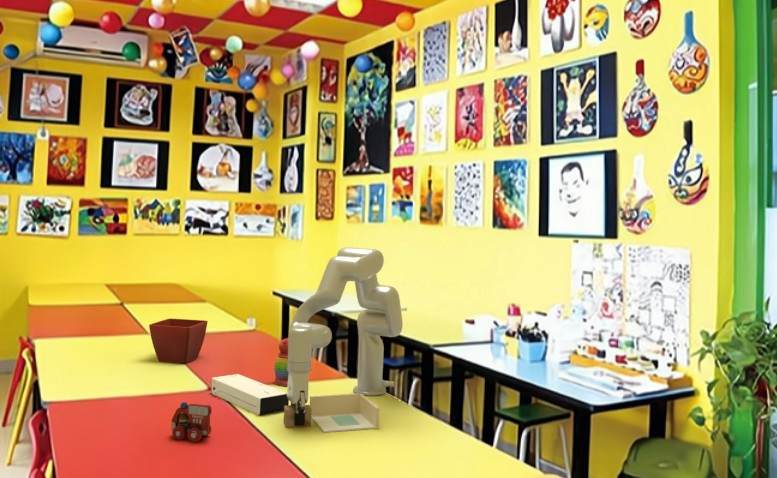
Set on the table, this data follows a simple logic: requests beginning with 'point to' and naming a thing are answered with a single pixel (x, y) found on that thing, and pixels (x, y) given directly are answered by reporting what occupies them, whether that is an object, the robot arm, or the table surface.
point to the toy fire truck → (191, 421)
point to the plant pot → (178, 339)
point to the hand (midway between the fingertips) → (297, 421)
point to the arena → (344, 412)
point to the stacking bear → (282, 364)
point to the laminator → (249, 394)
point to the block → (290, 416)
